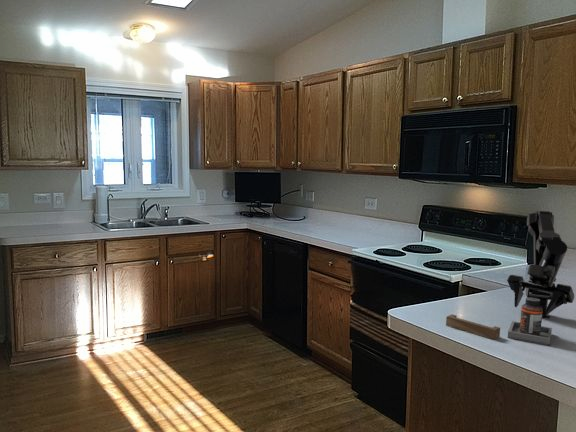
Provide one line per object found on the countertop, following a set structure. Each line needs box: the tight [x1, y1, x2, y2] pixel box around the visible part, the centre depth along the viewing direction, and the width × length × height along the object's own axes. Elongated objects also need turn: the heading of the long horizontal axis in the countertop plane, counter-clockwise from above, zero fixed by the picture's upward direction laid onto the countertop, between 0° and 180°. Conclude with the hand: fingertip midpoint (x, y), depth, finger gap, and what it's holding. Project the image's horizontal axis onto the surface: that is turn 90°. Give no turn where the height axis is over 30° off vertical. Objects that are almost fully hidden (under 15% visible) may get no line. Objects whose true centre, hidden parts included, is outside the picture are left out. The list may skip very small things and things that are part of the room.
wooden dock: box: [445, 313, 501, 340], centre depth 159 cm, size 4×16×3 cm, turn 43°
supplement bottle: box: [519, 297, 543, 336], centre depth 156 cm, size 6×6×11 cm
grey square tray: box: [507, 320, 553, 346], centre depth 156 cm, size 12×12×2 cm
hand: (530, 310), depth 155 cm, fingers open, 9 cm apart
